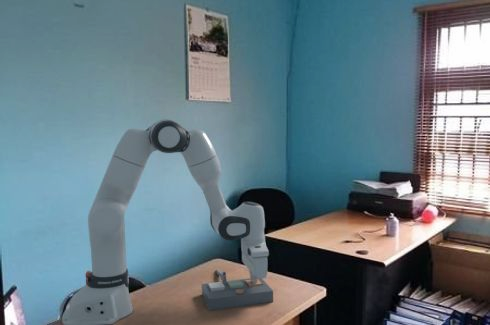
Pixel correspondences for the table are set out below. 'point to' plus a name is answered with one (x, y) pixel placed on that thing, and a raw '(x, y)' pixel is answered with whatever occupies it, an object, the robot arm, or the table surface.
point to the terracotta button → (250, 284)
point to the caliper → (221, 275)
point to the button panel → (237, 295)
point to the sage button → (235, 284)
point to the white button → (216, 286)
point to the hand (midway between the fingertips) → (253, 281)
